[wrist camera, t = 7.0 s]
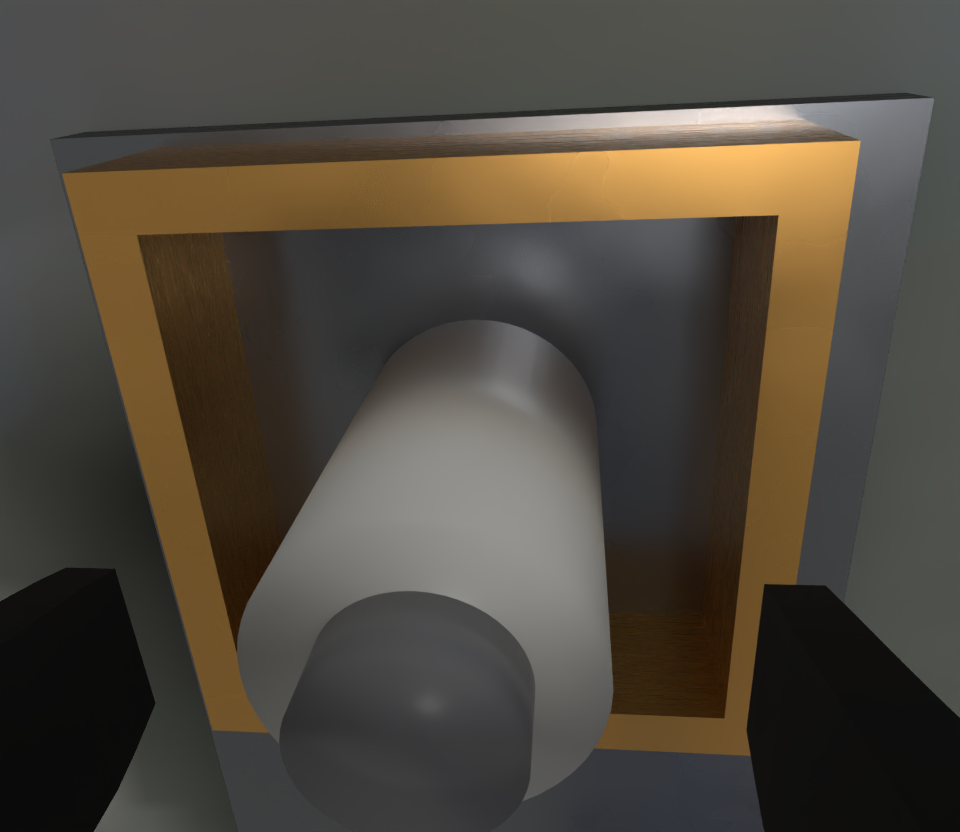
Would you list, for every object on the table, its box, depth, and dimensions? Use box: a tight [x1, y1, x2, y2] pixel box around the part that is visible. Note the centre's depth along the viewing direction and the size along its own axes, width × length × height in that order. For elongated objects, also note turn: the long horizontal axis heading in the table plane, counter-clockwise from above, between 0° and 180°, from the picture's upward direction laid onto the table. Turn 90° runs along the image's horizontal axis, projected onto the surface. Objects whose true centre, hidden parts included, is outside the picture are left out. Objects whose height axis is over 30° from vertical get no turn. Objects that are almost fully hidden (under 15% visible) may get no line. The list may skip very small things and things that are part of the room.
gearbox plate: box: [50, 93, 934, 832], centre depth 15 cm, size 20×13×4 cm, turn 3°
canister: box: [237, 320, 613, 832], centre depth 11 cm, size 4×4×7 cm
